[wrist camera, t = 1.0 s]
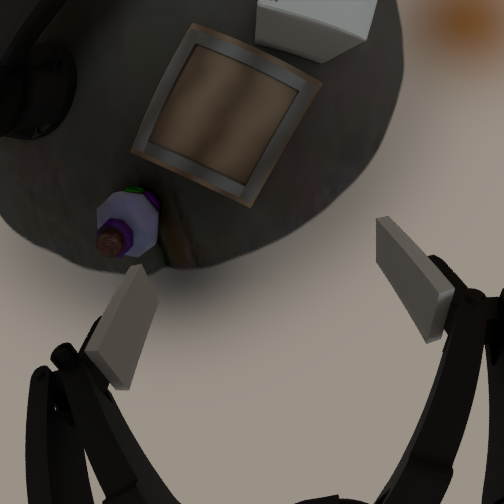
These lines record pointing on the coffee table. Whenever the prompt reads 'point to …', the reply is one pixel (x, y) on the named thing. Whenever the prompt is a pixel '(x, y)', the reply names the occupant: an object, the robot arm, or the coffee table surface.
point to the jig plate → (224, 113)
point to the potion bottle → (128, 222)
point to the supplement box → (313, 26)
